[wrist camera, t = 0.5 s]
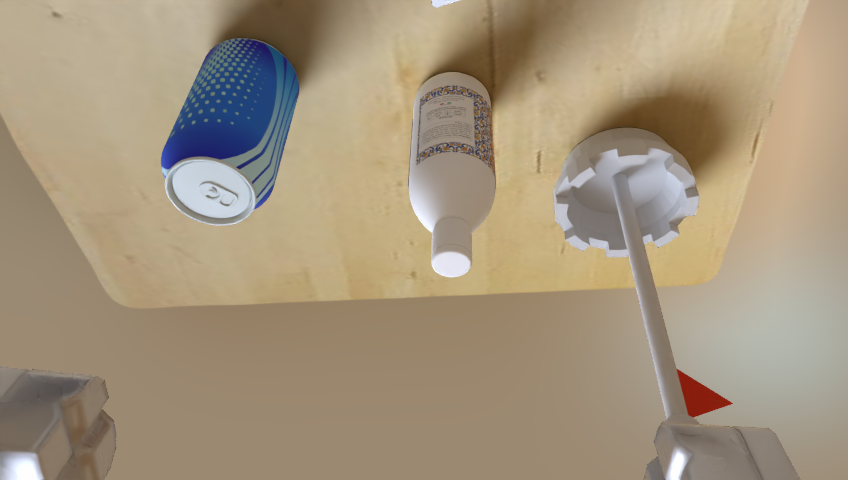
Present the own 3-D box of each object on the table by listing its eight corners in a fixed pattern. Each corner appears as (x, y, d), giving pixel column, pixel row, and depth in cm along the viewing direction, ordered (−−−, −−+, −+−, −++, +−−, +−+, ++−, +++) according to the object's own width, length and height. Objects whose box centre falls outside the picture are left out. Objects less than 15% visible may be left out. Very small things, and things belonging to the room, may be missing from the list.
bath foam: (473, 141, 68) (477, 304, 54) (404, 120, 66) (390, 282, 52) (503, 83, 63) (516, 246, 49) (429, 59, 61) (422, 219, 47)
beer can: (231, 119, 67) (186, 241, 56) (188, 41, 61) (128, 160, 50) (315, 102, 65) (286, 224, 54) (279, 20, 59) (238, 138, 48)
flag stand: (529, 203, 73) (559, 480, 52) (585, 102, 64) (649, 388, 43) (643, 232, 76) (715, 507, 55) (713, 138, 67) (831, 425, 46)
